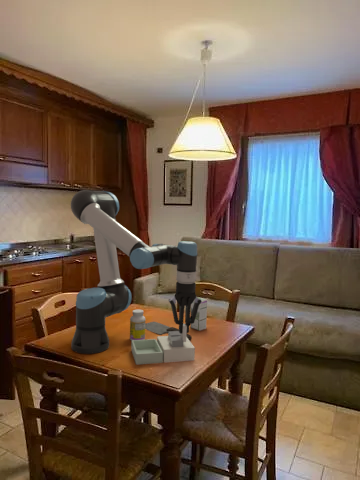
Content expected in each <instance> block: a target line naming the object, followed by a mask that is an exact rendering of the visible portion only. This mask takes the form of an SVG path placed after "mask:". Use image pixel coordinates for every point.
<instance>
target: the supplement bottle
mask: <svg viewBox="0 0 360 480" xmlns="http://www.w3.org/2000/svg"><path fill="white" fill-rule="evenodd" d="M145 323H146V317H145V316H144V310H143V309H139V308H138V309H133V310H132V315H131V316H130V319H129V340H130V341H131V342H132V340H146V329H145Z"/></svg>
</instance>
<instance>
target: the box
mask: <svg viewBox="0 0 360 480" xmlns="http://www.w3.org/2000/svg"><path fill="white" fill-rule="evenodd" d="M130 346H131V353H132V356H133V359H134V363H135V365H137V366H138V365H148V364H149V365H150V364H163V363H164V362H163V352H162V350H161V348H160V346H159V344H158V342H157V338H149V339H146V338H145V339H144V340H132V341H131V345H130Z"/></svg>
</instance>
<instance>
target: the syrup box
mask: <svg viewBox="0 0 360 480" xmlns="http://www.w3.org/2000/svg"><path fill="white" fill-rule="evenodd" d="M196 297H197V296H196ZM197 298H199V299H201V301H202V302H201V303H200V305H199V307H198V310H197V314H196V318H195V321H194V323H193V324H190V326H189V329H192V330H196V331H198V332H199V331H204V330H206V329H207V318H208V316H207V314H208V312H207V311H208V299H206V298H204V297H203V298H202V297H199V296H198V297H197ZM194 301H195V300H194ZM194 301H193V303H192V304H191V308H190V314H191V313H192V309H193V306H194V303H195V302H194Z"/></svg>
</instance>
